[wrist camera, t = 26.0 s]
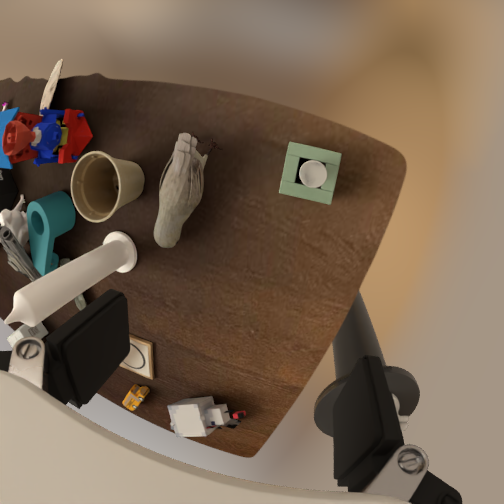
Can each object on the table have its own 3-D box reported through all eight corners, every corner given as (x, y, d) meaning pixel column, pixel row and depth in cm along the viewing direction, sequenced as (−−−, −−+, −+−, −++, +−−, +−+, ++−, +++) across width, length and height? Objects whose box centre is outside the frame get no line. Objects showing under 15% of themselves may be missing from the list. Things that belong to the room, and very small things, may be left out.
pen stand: (336, 155, 33) (341, 153, 28) (326, 199, 35) (330, 205, 30) (290, 144, 33) (289, 141, 29) (281, 189, 35) (278, 193, 31)
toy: (161, 400, 39) (252, 414, 40) (177, 377, 55) (243, 387, 57) (158, 457, 36) (242, 470, 37) (172, 423, 53) (236, 433, 54)
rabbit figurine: (21, 192, 44) (-11, 201, 35) (38, 201, 43) (3, 211, 34) (20, 241, 48) (-9, 253, 39) (36, 252, 47) (5, 267, 38)
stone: (90, 317, 46) (77, 317, 48) (96, 313, 48) (84, 313, 50) (68, 256, 43) (56, 260, 45) (75, 253, 45) (64, 257, 47)
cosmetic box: (49, 332, 56) (33, 341, 60) (36, 313, 54) (23, 324, 59) (30, 349, 48) (17, 355, 53) (16, 329, 46) (6, 338, 51)
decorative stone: (42, 126, 39) (33, 125, 37) (59, 65, 35) (51, 64, 34) (49, 121, 34) (39, 120, 33) (69, 53, 31) (60, 51, 30)
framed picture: (152, 342, 48) (150, 345, 47) (154, 377, 51) (152, 380, 50) (110, 325, 49) (107, 328, 48) (115, 360, 52) (113, 363, 51)
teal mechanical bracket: (52, 218, 35) (29, 193, 34) (44, 277, 42) (23, 253, 41) (79, 206, 41) (56, 183, 40) (65, 263, 48) (45, 240, 47)
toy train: (48, 111, 37) (-11, 110, 23) (102, 106, 35) (33, 97, 21) (41, 161, 40) (-17, 170, 26) (93, 166, 39) (23, 176, 25)
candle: (140, 272, 43) (31, 358, 20) (109, 270, 44) (4, 342, 21) (134, 230, 41) (6, 297, 18) (102, 231, 42) (-17, 288, 19)
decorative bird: (159, 233, 40) (132, 248, 33) (192, 131, 35) (167, 125, 28) (189, 248, 40) (167, 266, 33) (227, 143, 35) (209, 138, 28)
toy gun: (12, 269, 48) (47, 297, 49) (-26, 217, 31) (7, 247, 32) (19, 258, 50) (55, 285, 51) (-16, 204, 33) (18, 231, 34)
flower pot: (123, 139, 37) (86, 138, 29) (165, 171, 37) (132, 175, 29) (99, 189, 40) (63, 197, 32) (137, 222, 40) (103, 236, 32)
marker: (319, 164, 33) (329, 163, 21) (315, 181, 34) (323, 190, 22) (301, 160, 34) (302, 157, 21) (298, 177, 34) (296, 184, 22)
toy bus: (145, 398, 50) (131, 387, 50) (133, 413, 53) (121, 403, 53) (152, 389, 53) (138, 378, 53) (139, 405, 56) (127, 395, 56)
